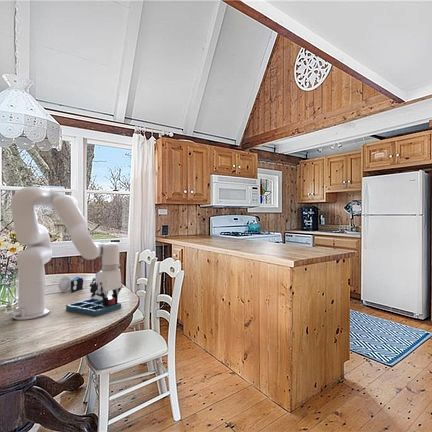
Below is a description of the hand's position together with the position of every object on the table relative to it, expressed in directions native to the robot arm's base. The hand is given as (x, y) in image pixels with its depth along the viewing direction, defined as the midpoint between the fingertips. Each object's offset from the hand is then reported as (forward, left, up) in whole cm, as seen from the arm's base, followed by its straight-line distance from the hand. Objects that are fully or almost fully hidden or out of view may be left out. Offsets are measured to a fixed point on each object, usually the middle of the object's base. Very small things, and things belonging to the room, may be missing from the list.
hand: (109, 303), depth 153 cm
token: (0, 0, 0) cm, 0 cm away
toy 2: (+19, +32, -3) cm, 37 cm away
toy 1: (+16, +52, -3) cm, 54 cm away
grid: (-3, +7, -3) cm, 8 cm away
